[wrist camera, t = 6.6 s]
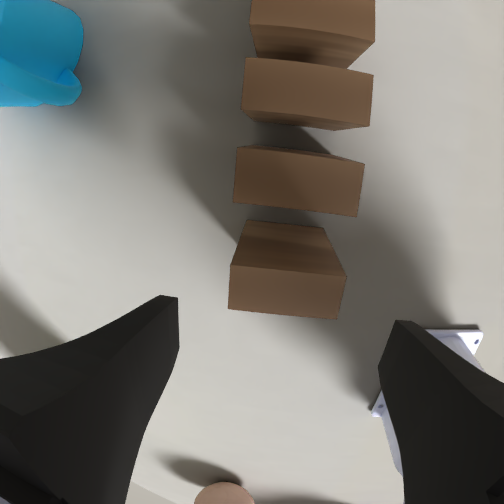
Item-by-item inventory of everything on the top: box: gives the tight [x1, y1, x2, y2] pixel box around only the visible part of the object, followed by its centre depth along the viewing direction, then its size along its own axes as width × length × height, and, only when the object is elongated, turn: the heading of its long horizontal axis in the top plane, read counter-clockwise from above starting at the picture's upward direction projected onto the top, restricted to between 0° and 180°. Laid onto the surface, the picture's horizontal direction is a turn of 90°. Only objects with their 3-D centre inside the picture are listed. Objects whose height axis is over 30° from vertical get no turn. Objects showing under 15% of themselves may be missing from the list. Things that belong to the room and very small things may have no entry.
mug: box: [0, 0, 83, 107], centre depth 12 cm, size 12×8×8 cm
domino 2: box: [241, 57, 373, 131], centre depth 13 cm, size 2×5×7 cm, turn 85°
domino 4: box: [228, 220, 347, 319], centre depth 16 cm, size 2×5×7 cm, turn 85°
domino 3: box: [233, 145, 365, 217], centre depth 14 cm, size 2×5×7 cm, turn 85°
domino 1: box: [249, 0, 375, 69], centre depth 12 cm, size 2×5×7 cm, turn 85°
